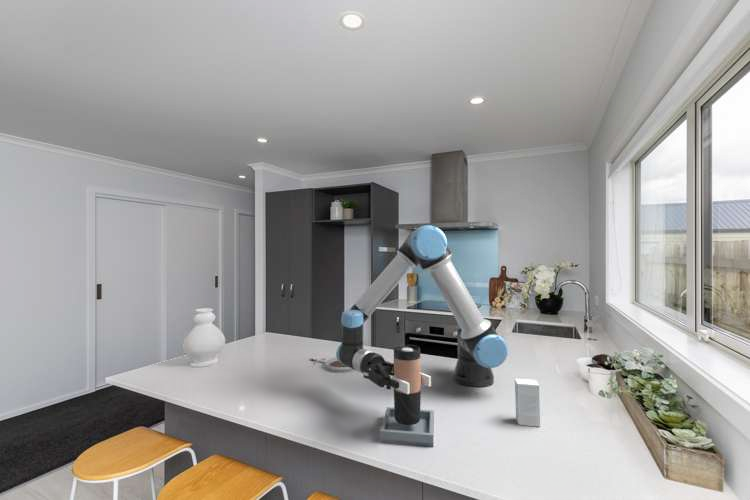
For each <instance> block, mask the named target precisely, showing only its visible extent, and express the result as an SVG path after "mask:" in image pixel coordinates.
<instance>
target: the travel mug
mask: <svg viewBox="0 0 750 500" xmlns="http://www.w3.org/2000/svg"><path fill="white" fill-rule="evenodd" d="M393 363H394V377H396V378H398V379H401V380H403V381H405V382H408V383H410V394H406V393H404V392H402V391H400V390H398V389H395V388H393V403H394V404H393V406H394V407H393V408H394V412H395V420H396V421H397V422H398V423H400V424H403V425H414V424H417V423H418V422H419V421H420V410H421V406H422V405H421V401H422V400H421V398H422V390H421V389H422V384H421V373H422V372H421V371H422V370H421V348H420V346H418V345H416V344H415V345H414V344H406V345H405V346H401V345H398V344H397V345H395V346H394V347H393Z"/></svg>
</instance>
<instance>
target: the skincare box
mask: <svg viewBox="0 0 750 500" xmlns="http://www.w3.org/2000/svg"><path fill="white" fill-rule="evenodd" d="M514 390H515V391H514V393H515V398H514V399H515V420H516V422H517V425H519V426H526V427H527V426H529V427H537V428H538V427H541V407H540V406H541V403H540V402H541V401H540V384H539V383H538V381H537V380H536V379H528V378H527V379H525V378H524V379H523V378H514Z"/></svg>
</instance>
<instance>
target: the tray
mask: <svg viewBox="0 0 750 500" xmlns="http://www.w3.org/2000/svg"><path fill="white" fill-rule="evenodd" d="M434 414H435V413H434V410H433V409H432V410H431V409H420V421H419V422H418V423H417V424H414V425H403V424H400V423H398V422H397V421H396V420H395V412H394V407H392V406H391V407H386V409H385V413H384V416H383V420H382V422H381V426H380V429H379V443H385V444H396V445H407V446H416V447H427V448H434V440H435V439H434V431H435V429H434V428H435V417H434V416H435V415H434Z"/></svg>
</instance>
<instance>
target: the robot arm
mask: <svg viewBox="0 0 750 500" xmlns="http://www.w3.org/2000/svg"><path fill="white" fill-rule="evenodd" d="M452 256H453V253H452V252H451V250H450V248H449V246H448V239H447V237H446V234H445V232H443V230H442V229H440V228H439V227H437V226H434V225H430V224H429V225H427V224H426V225H422V226H420V227H419V226H418V228H416V229H413V230H412V231H410V233H409V234H408V235H407V237H406V239H405V240H404V242H403V243H402V244H401V246H400V247H399V248H398V249H397V251H396V255H395V257H394V258H393V259H392V260H391V261H390V263H389V264H388V265H387V266H386V267H385V268H384V269H383V270H382V271H381V273H380V274H379V275H378V276H377V277H376V279H375V280H374V281H373V282H372V283H371V284H370V285H369V287H368V288H367V289H366V290H365V291H364V293H363V294H362V295H361V296H360V297H359V298H358V299H357V300H356V302H355V303H354V304H353V305H352V306H351V307H350V308H349V309H346V310H344V311H343V312H342V313H341V321H340V322H341V323H340V324H341V344H340V345H338V347H337V350H336V353H335V355H336V356H335V357H337V360H338V361H339V362H340V363H342V364H343V365H344V366H346V367H349V368H352V369H354V370H356V371H355V372H358V373H361V374H362V375H363V379H367V380H369V381H370V382H372V383H374V384H375V385H376V386H378V387H379V388H384V387H385V386H386V388H385V390H391V389H392V388H393V389H394V388H395V389H398V390H400V391H402V392H404V393H406V394H410V383H408V382H405V381H403V380H401V379H398V378H396V377H394V362H389V361H386V360H385V358H384V357H383V355H381V354H379V353H376V352H373V351H372V350H368V349H365V348H364V324H365V323H366V321H367V320H369V318H370V316H371V315H372V314H373V313H374V312H375V311H376V309H377V308H378V307H379V306H380V305H381V303H383V301H384V300H385V299H386V298H387V297H388V296H389V295H390V294H391V292H392V291H393V290H394V289H395V288H396V287H397V285H398V284H399V283H400V282H401V281H402V280H403V279H404V278H405V277H406V275H407V274H408V273H410V271H411V269H412V268H417V266H420V267H421V269H422V271H425V272H428V273H429V274H430V275H429V276H431V278H432V280H433V282H434V284H435V286H436V287H437V289H438V291H439V292H440V294H441V296H442V297H443V300H444V301H445V303H446V304H447V306H448V309H449V310H450V311H451V313H452V315H453V317H454V319H455V320H456V323H457V328H456V331H457V361H456V363H455V368H454V371H453V380H454V381H455V382H456V383H458V384H459V385H463V386H466V387H467V386H468V387H473V388H474V387H475V388H483V387H489V386H492V385H493V384H494V383H495V378H494V372H493V369H494V368H498V367H499V366H501V365H502V364H503V363H504V362H505V361H506V360H507V356H508V354H509V347H508V343H506V341H505V339H504V338H503V337H501V336H500V335H499V334H498V332H497V330H496V329H495V327H494V326H493V324H492V322H491V321H490V320H489V319H485V318H484V317H483V315H482V314H481V312H480V310H479V307H478V306H477V304H476V302H475V301H474V299H473V297H472V296H471V294H470V292H469V290H468V288H467V287H466V284H464V282H463V280H462V278H461V276H460V275H459V273H458V271H457V269H456V268H455V266H454V264H453V262H452ZM421 385H424V386H425V387H432V376H431V375H428V374H426V373H423V372H421Z"/></svg>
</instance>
